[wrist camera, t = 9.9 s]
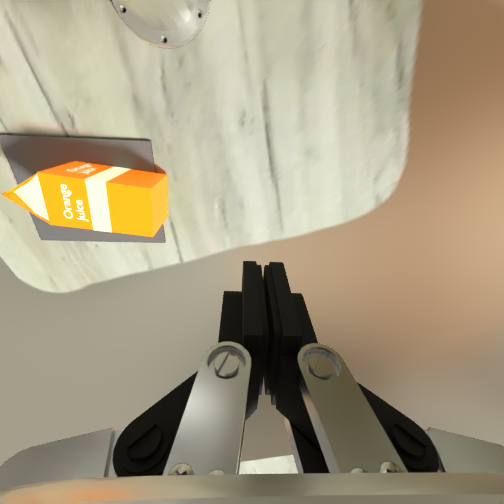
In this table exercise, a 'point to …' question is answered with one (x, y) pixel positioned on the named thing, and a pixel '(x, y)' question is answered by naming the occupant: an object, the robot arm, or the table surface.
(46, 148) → the mat
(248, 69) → the table surface
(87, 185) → the orange juice
